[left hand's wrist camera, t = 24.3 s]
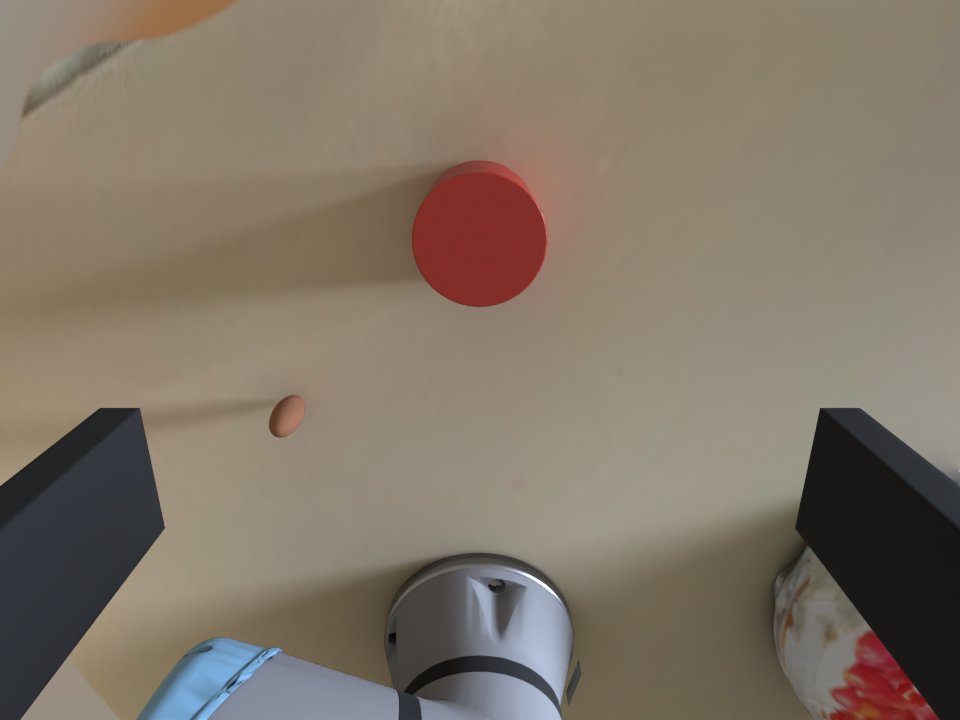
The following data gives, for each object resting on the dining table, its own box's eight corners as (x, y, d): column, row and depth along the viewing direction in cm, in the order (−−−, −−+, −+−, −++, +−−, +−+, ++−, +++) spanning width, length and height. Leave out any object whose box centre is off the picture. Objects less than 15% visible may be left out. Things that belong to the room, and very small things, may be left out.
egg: (312, 413, 46) (293, 446, 42) (284, 412, 46) (262, 446, 42) (310, 387, 46) (291, 418, 41) (282, 386, 46) (259, 418, 41)
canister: (554, 189, 41) (570, 207, 34) (506, 290, 43) (512, 327, 36) (450, 141, 40) (443, 147, 33) (407, 246, 42) (391, 275, 35)
